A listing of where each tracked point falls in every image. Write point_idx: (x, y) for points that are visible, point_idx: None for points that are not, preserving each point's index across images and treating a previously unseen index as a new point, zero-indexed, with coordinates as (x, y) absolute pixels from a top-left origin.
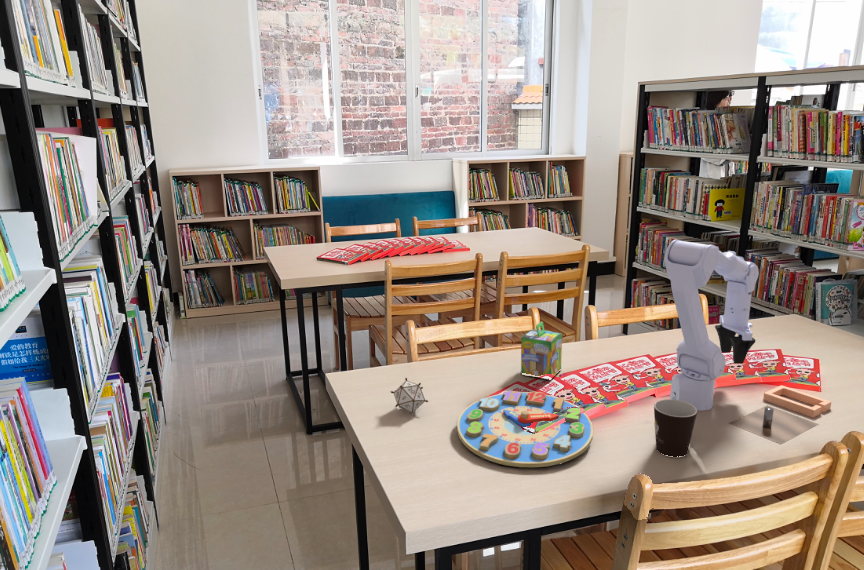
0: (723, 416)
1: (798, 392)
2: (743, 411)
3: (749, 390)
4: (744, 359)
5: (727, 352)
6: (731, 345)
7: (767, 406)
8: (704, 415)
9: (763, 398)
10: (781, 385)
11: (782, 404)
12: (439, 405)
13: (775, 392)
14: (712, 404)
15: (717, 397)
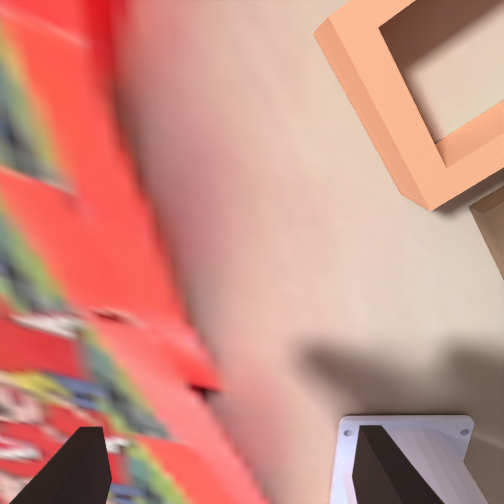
0: (479, 399)
1: None
2: (457, 314)
3: (226, 184)
4: (404, 456)
5: (104, 446)
6: (62, 491)
7: (494, 218)
8: None
9: (416, 202)
10: (334, 20)
11: None
12: None
13: (422, 124)
14: (447, 449)
15: (304, 360)
